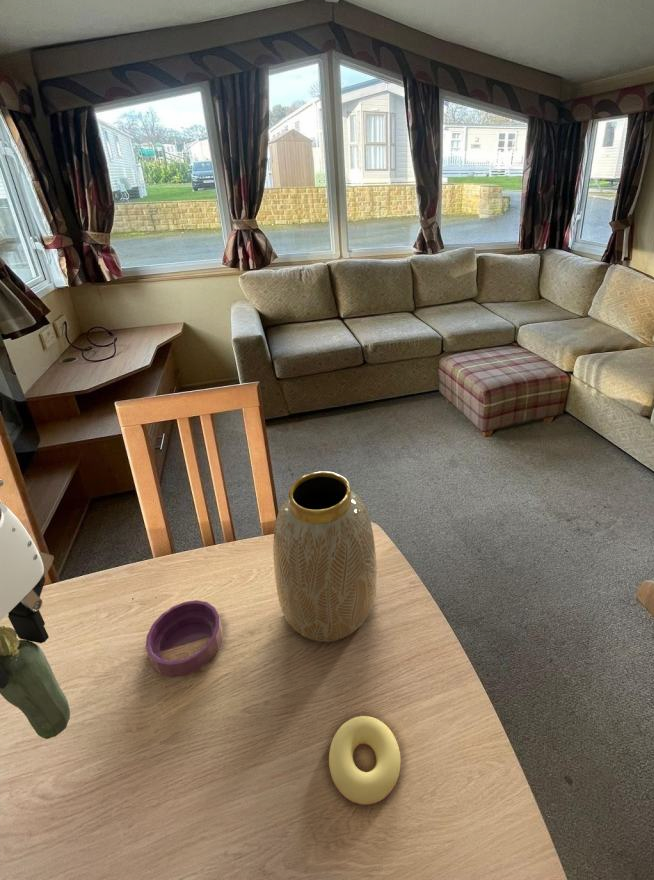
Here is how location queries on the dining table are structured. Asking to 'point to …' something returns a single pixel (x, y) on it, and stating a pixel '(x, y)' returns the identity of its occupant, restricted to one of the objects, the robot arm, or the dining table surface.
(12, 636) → the vegetable
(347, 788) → the donut
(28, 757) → the dining table surface
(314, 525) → the vase
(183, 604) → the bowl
